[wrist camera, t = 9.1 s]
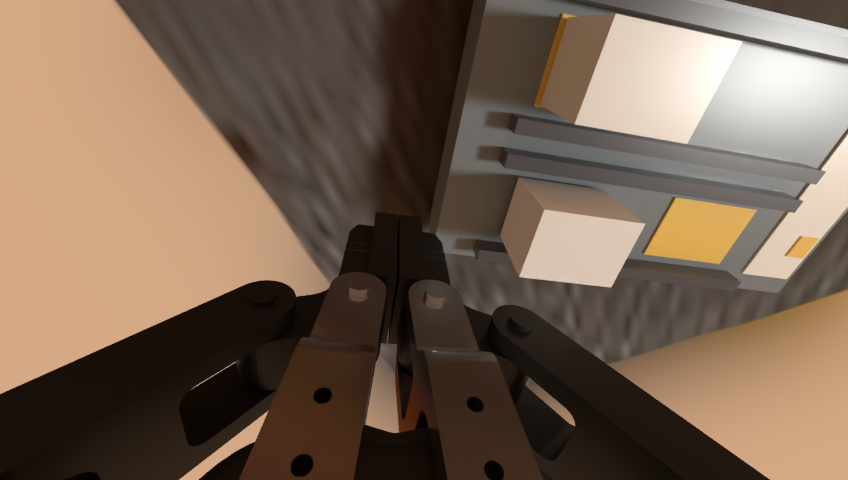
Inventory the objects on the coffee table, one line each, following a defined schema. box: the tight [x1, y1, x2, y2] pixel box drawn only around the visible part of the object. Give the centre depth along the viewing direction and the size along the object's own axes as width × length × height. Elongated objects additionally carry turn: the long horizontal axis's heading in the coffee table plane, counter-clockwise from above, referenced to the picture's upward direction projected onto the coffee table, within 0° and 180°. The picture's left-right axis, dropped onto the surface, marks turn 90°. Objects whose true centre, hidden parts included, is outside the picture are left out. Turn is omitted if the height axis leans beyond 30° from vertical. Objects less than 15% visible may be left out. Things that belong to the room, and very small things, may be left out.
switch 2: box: [500, 177, 645, 287], centre depth 15 cm, size 4×3×3 cm
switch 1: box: [540, 14, 742, 144], centre depth 12 cm, size 4×3×3 cm
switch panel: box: [429, 0, 848, 293], centre depth 17 cm, size 20×12×4 cm, turn 80°
